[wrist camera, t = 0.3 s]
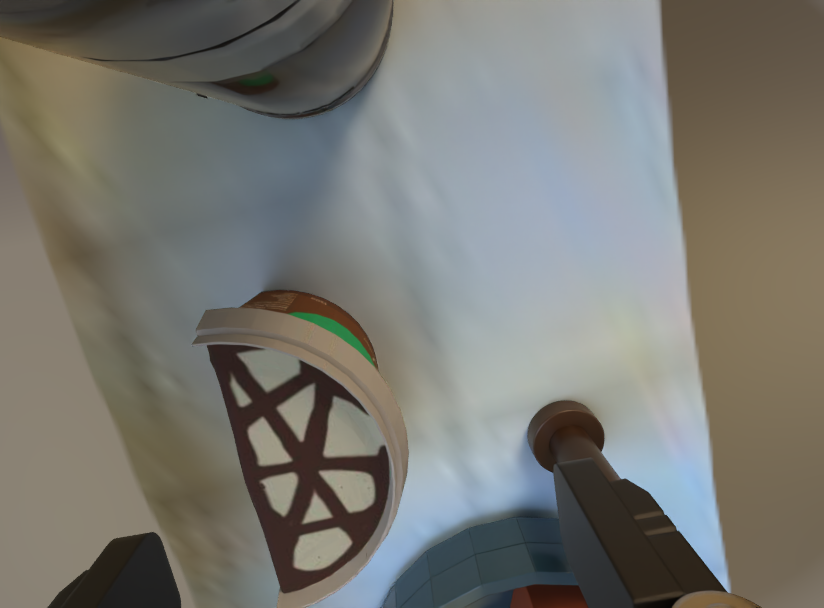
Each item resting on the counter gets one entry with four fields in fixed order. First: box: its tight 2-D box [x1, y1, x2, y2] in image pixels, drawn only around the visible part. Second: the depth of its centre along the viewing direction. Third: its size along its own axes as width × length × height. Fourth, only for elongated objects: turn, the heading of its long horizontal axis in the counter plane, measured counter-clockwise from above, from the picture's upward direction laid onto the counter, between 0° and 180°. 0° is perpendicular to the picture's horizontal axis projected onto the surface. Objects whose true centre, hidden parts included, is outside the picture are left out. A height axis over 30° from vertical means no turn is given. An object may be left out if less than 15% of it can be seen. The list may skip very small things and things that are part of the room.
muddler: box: [528, 401, 620, 481], centre depth 25 cm, size 4×4×11 cm
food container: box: [191, 290, 409, 608], centre depth 24 cm, size 12×6×10 cm, turn 10°
